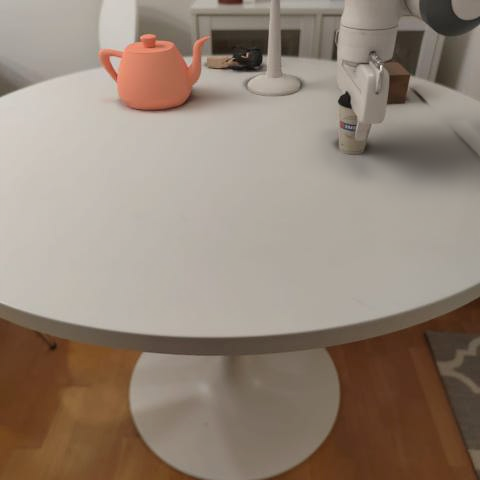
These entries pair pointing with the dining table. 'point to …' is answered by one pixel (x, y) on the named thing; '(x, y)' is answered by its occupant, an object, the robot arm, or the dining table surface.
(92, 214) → the dining table surface
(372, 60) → the robot arm
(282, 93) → the candlestick
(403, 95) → the walnut block
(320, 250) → the dining table surface
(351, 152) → the coffee cup
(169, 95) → the teapot
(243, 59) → the toy figure
